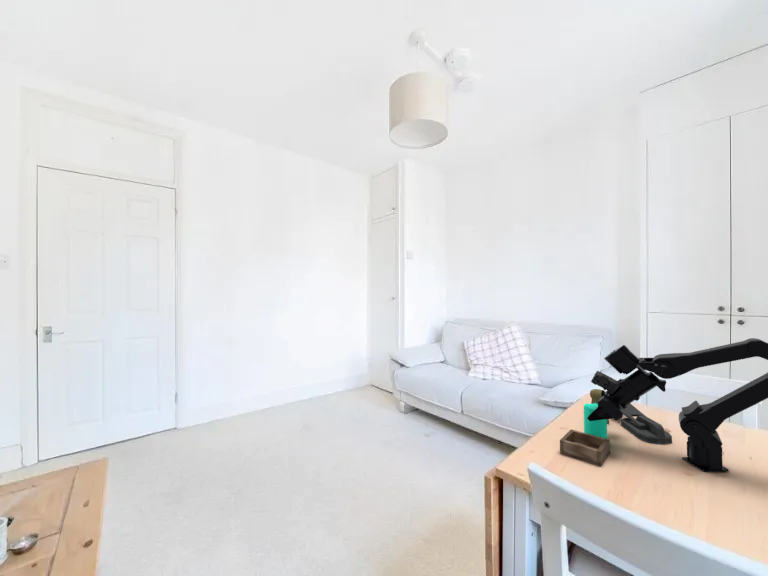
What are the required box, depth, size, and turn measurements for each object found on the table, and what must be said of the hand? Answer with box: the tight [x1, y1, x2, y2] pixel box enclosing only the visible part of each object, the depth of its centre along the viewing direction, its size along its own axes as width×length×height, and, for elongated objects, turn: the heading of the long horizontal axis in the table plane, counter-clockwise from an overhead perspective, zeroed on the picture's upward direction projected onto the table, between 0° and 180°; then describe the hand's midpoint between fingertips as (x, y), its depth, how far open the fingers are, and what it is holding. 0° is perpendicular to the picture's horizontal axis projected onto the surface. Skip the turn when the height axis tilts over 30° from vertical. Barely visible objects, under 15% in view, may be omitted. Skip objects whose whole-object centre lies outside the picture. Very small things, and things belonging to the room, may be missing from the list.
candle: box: [583, 402, 608, 439], centre depth 102 cm, size 6×6×12 cm
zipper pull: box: [620, 403, 673, 445], centre depth 111 cm, size 9×7×25 cm
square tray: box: [559, 428, 611, 467], centre depth 94 cm, size 10×10×4 cm
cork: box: [589, 388, 610, 425], centre depth 116 cm, size 6×6×11 cm
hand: (589, 415), depth 103 cm, fingers open, 7 cm apart
